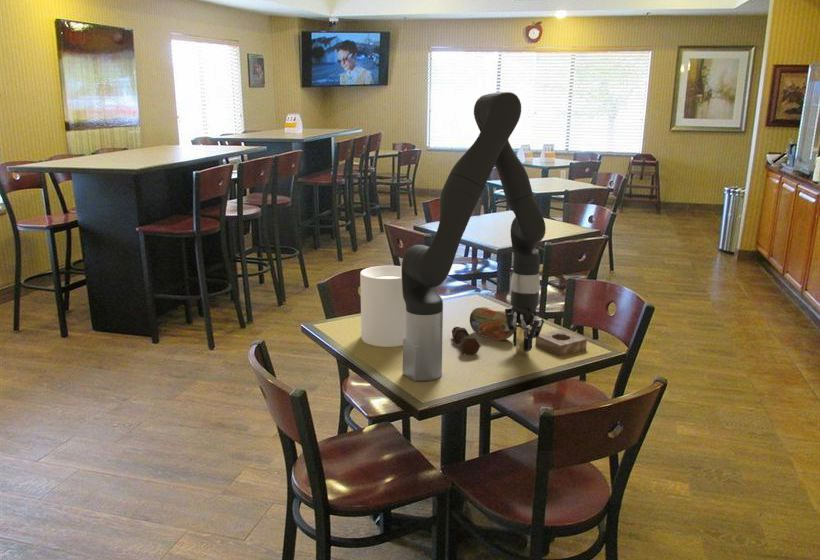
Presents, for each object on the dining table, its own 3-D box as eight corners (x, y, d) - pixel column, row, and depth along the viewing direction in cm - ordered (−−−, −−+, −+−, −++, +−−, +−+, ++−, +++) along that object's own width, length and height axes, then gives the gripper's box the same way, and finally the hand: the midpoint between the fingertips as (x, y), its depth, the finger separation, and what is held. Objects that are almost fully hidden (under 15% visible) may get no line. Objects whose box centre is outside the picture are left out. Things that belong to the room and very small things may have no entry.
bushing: (521, 357, 180) (522, 329, 178) (512, 353, 183) (513, 325, 181) (531, 354, 182) (532, 327, 180) (522, 350, 185) (524, 323, 183)
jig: (560, 355, 181) (560, 345, 180) (535, 344, 189) (535, 335, 188) (586, 349, 186) (586, 339, 185) (561, 338, 194) (561, 329, 193)
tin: (468, 331, 200) (469, 305, 198) (474, 329, 203) (475, 303, 200) (509, 343, 190) (511, 315, 188) (515, 341, 193) (517, 313, 191)
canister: (369, 349, 185) (368, 281, 180) (355, 331, 200) (354, 267, 195) (422, 343, 190) (423, 276, 185) (405, 326, 205) (405, 264, 200)
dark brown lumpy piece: (459, 343, 196) (472, 359, 182) (444, 336, 195) (457, 352, 181) (468, 326, 196) (483, 341, 181) (454, 319, 194) (468, 334, 180)
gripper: (497, 284, 181) (495, 343, 186) (532, 296, 170) (529, 359, 174) (518, 280, 185) (516, 338, 190) (553, 292, 174) (550, 353, 178)
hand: (522, 348), depth 182 cm, fingers closed on bushing, 3 cm apart
